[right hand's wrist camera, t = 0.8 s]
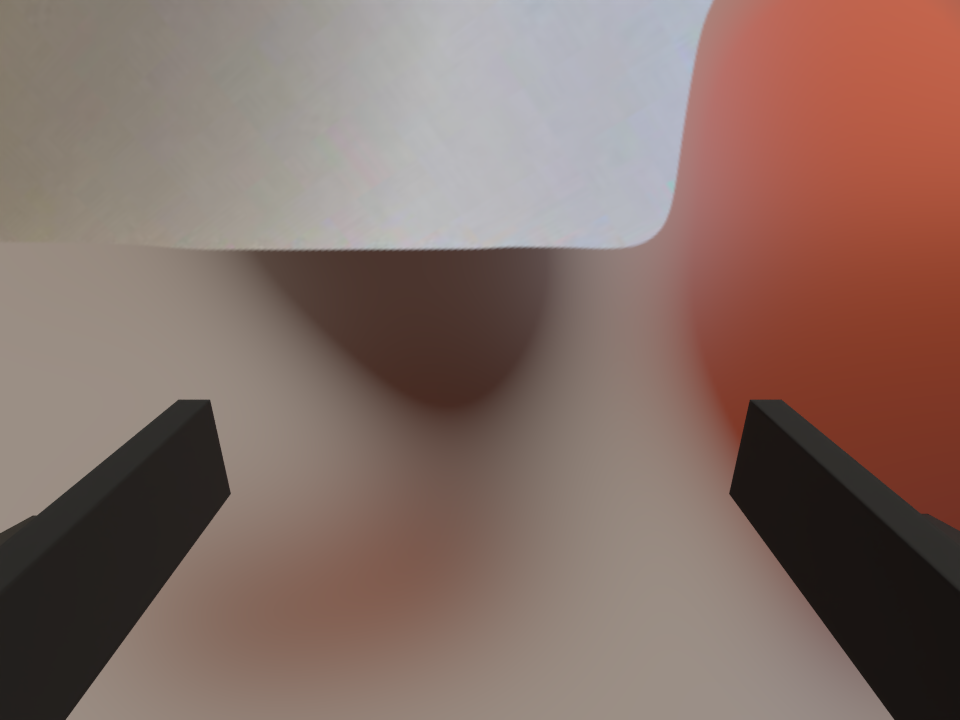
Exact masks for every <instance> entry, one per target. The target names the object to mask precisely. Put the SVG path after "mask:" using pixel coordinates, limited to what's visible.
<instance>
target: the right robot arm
mask: <svg viewBox="0 0 960 720" xmlns="http://www.w3.org/2000/svg"><path fill="white" fill-rule="evenodd" d="M230 494H231V493H230V488H229V484H228V479H227V475H226V470H225V466H224V461H223V456H222V452H221V447H220V443H219V438H218V434H217V429H216V425H215V420H214V416H213V411H212V407H211V402H210V400H178V401H176V402H175V403H174V404H173V405H172V406H170V407H169V408H168V409H167V410H165V411H164V412H163V413H162V414H161V415H159V416H158V417H157V418H156V419H154V420H153V421H152V422H151V423H150V424H148V425H147V426H146V427H145V428H143V429H142V430H141V431H140V432H139V433H137V434H136V435H135V436H134V437H132V438H131V439H130V440H129V441H128V442H126V443H125V444H124V445H123V446H121V447H120V448H119V449H118V450H117V451H115V452H114V453H113V454H112V455H110V456H109V457H108V458H107V459H106V460H104V461H103V462H102V463H101V464H99V465H98V466H97V467H96V468H95V469H93V470H92V471H91V472H90V473H88V474H87V475H86V476H85V477H84V478H82V479H81V480H80V481H79V482H78V483H76V484H75V485H74V486H73V487H71V488H70V489H69V490H68V491H67V492H65V493H64V494H63V495H62V496H60V497H59V498H58V499H57V500H56V501H54V502H53V503H52V504H51V505H49V506H48V507H47V508H46V509H45V510H43V511H42V512H41V513H40V514H38V515H37V516H31V517H30V518H28V519H26V520H24V521H22V522H20V523H19V524H17V525H15V526H13V527H11V528H9V529H7V530H6V531H4V532H2V533H0V720H66V718H67V717H68V716H69V714H70V713H71V712H72V710H73V709H74V707H75V706H76V705H77V703H78V702H79V701H80V699H81V698H82V696H83V695H84V694H85V692H86V691H87V690H88V688H89V687H90V686H91V684H92V683H93V681H94V680H95V679H96V677H97V676H98V675H99V673H100V672H101V671H102V669H103V668H104V666H105V665H106V664H107V662H108V661H109V660H110V658H111V657H112V655H113V654H114V653H115V651H116V650H117V649H118V647H119V646H120V645H121V643H122V642H123V640H124V639H125V638H126V636H127V635H128V634H129V632H130V631H131V630H132V628H133V627H134V625H135V624H136V623H137V621H138V620H139V619H140V617H141V616H142V614H143V613H144V612H145V610H146V609H147V608H148V606H149V605H150V604H151V602H152V601H153V599H154V598H155V597H156V595H157V594H158V593H159V591H160V590H161V588H162V587H163V586H164V584H165V583H166V582H167V580H168V579H169V578H170V576H171V575H172V573H173V572H174V571H175V569H176V568H177V567H178V565H179V564H180V562H181V561H182V560H183V558H184V557H185V556H186V554H187V553H188V552H189V550H190V549H191V547H192V546H193V545H194V543H195V542H196V541H197V539H198V538H199V536H200V535H201V534H202V532H203V531H204V530H205V528H206V527H207V526H208V524H209V523H210V521H211V520H212V519H213V517H214V516H215V515H216V513H217V512H218V511H219V509H220V508H221V506H222V505H223V504H224V502H225V501H226V500H227V498H228V497H229V495H230ZM729 494H730V495H731V497H732V498H733V500H734V501H735V502H736V504H737V505H738V506H739V508H740V509H741V510H742V512H743V513H744V515H745V516H746V517H747V519H748V520H749V521H750V523H751V524H752V526H753V527H754V528H755V530H756V531H757V532H758V534H759V535H760V536H761V538H762V539H763V541H764V542H765V543H766V545H767V546H768V547H769V549H770V550H771V552H772V553H773V554H774V556H775V557H776V558H777V560H778V561H779V562H780V564H781V565H782V567H783V568H784V569H785V571H786V572H787V573H788V575H789V576H790V578H791V579H792V580H793V582H794V583H795V584H796V586H797V587H798V588H799V590H800V591H801V593H802V594H803V595H804V597H805V598H806V599H807V601H808V602H809V604H810V605H811V606H812V608H813V609H814V610H815V612H816V613H817V614H818V616H819V617H820V618H821V620H822V621H823V623H824V624H825V625H826V627H827V628H828V629H829V631H830V632H831V634H832V635H833V636H834V638H835V639H836V640H837V642H838V643H839V645H840V646H841V647H842V649H843V650H844V651H845V653H846V654H847V655H848V657H849V658H850V660H851V661H852V662H853V664H854V665H855V666H856V668H857V669H858V671H859V672H860V673H861V675H862V676H863V677H864V679H865V680H866V681H867V683H868V684H869V686H870V687H871V688H872V690H873V691H874V692H875V694H876V695H877V697H878V698H879V699H880V701H881V702H882V703H883V705H884V706H885V707H886V709H887V710H888V712H889V713H890V714H891V716H892V717H893V718H894V720H960V531H959V530H957V529H955V528H953V527H951V526H949V525H947V524H946V523H944V522H942V521H940V520H938V519H936V518H935V517H933V516H931V515H929V514H920V513H919V512H918V511H917V510H915V509H914V508H913V507H912V506H911V505H909V504H908V503H907V502H906V501H904V500H903V499H902V498H901V497H900V496H898V495H897V494H896V493H895V492H893V491H892V490H891V489H890V488H889V487H887V486H886V485H885V484H884V483H882V482H881V481H880V480H879V479H878V478H876V477H875V476H874V475H873V474H872V473H870V472H869V471H868V470H867V469H865V468H864V467H863V466H862V465H861V464H859V463H858V462H857V461H856V460H854V459H853V458H852V457H851V456H850V455H848V454H847V453H846V452H845V451H843V450H842V449H841V448H840V447H839V446H837V445H836V444H835V443H834V442H832V441H831V440H830V439H829V438H828V437H826V436H825V435H824V434H823V433H821V432H820V431H819V430H818V429H817V428H815V427H814V426H813V425H812V424H810V423H809V422H808V421H807V420H806V419H804V418H803V417H802V416H801V415H799V414H798V413H797V412H796V411H795V410H793V409H792V408H791V407H790V406H788V405H787V404H786V403H785V402H784V401H782V400H750V402H749V407H748V411H747V416H746V420H745V425H744V429H743V434H742V438H741V443H740V447H739V452H738V457H737V461H736V466H735V470H734V475H733V479H732V484H731V488H730V493H729Z"/></svg>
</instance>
